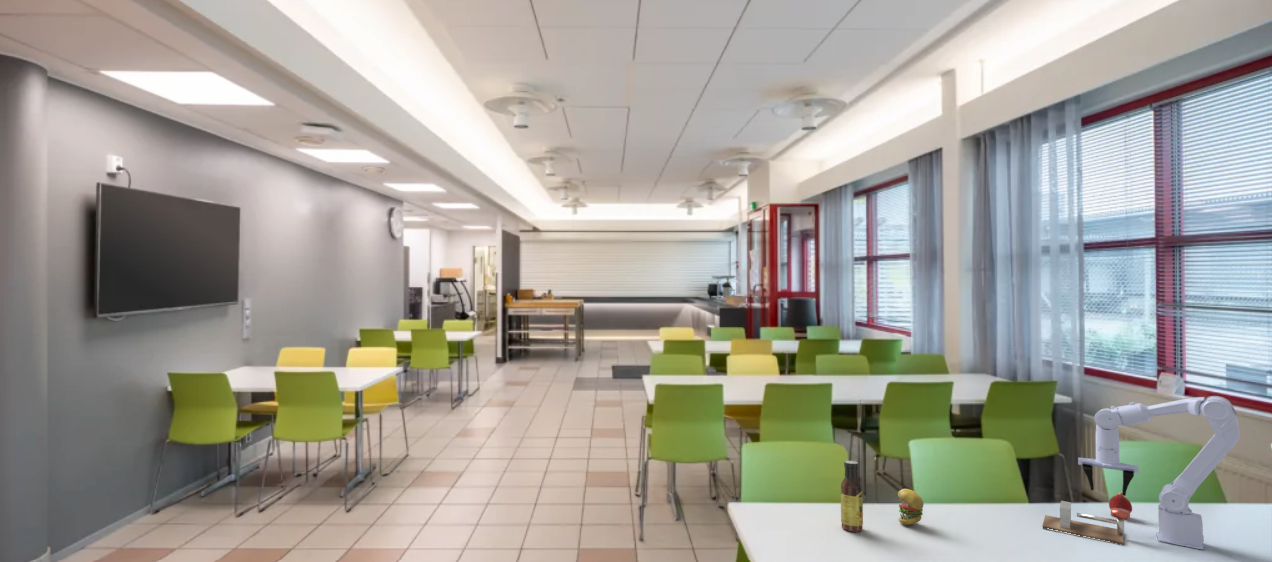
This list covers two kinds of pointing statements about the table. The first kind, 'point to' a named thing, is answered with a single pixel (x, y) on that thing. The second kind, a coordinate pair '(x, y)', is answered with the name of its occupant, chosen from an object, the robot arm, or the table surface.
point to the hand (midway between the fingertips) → (1107, 492)
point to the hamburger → (910, 507)
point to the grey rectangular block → (1065, 514)
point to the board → (1085, 530)
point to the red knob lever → (1115, 512)
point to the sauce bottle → (851, 499)
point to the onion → (1120, 502)
